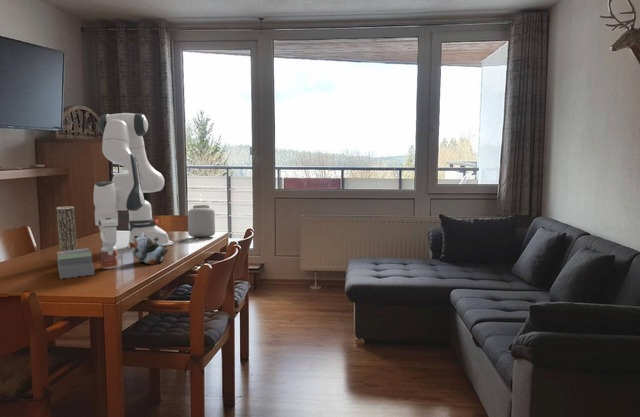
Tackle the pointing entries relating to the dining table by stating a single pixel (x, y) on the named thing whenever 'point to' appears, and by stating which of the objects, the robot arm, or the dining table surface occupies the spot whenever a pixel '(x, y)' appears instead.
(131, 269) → the dining table surface
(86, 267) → the stepped stand
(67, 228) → the bark log
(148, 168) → the robot arm
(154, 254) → the blue-grey lumpy figure
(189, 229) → the jar
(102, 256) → the pill bottle
